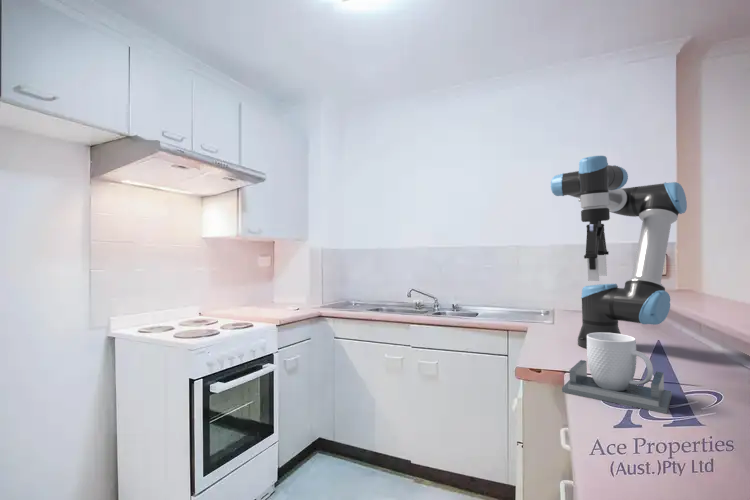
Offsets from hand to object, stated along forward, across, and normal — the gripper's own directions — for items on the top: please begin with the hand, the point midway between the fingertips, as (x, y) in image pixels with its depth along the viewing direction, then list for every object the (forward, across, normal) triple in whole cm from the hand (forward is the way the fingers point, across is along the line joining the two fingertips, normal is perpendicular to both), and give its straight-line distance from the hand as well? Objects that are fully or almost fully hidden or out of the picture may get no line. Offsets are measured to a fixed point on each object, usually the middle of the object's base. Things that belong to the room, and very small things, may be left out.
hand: (597, 278), depth 119 cm
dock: (+27, +21, +6) cm, 35 cm away
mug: (+26, +19, +6) cm, 33 cm away
